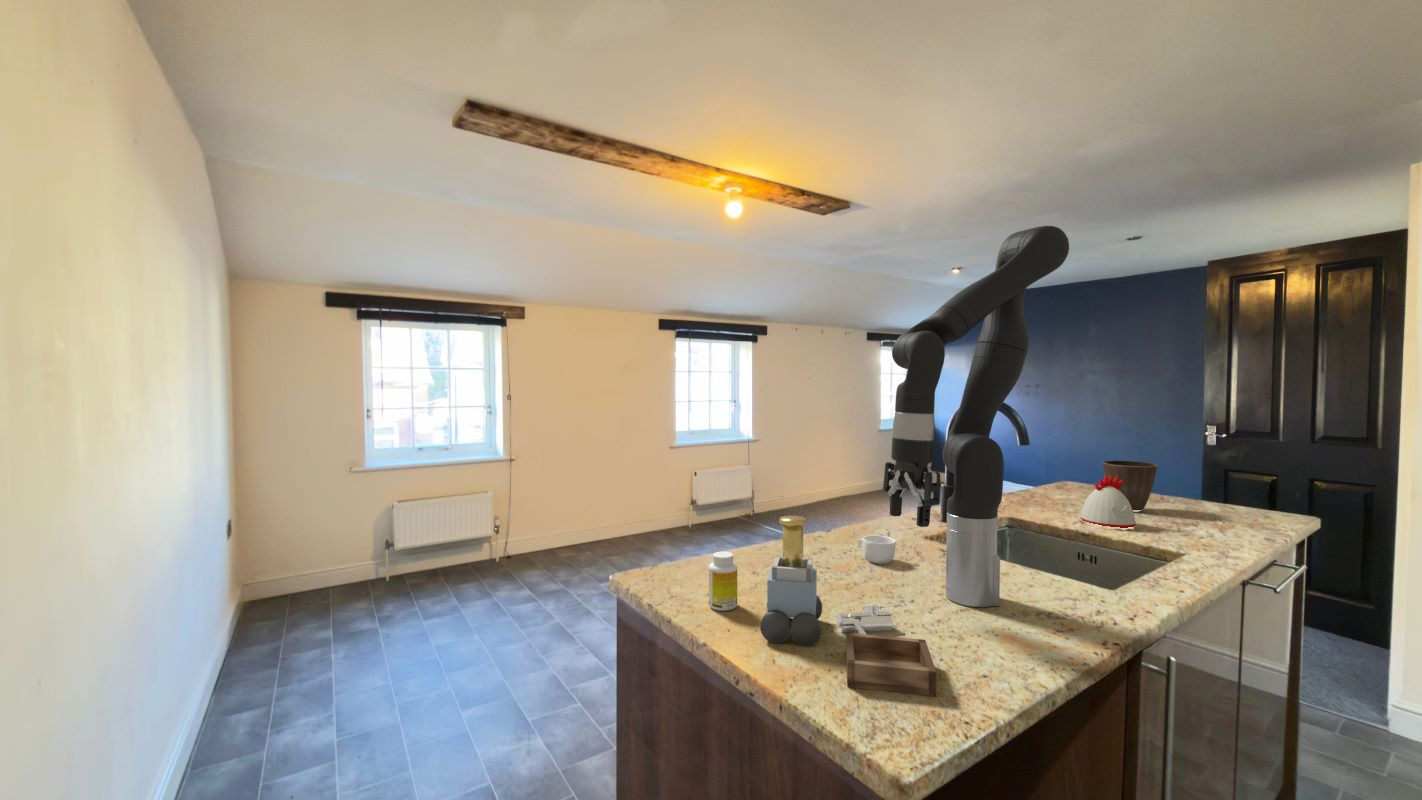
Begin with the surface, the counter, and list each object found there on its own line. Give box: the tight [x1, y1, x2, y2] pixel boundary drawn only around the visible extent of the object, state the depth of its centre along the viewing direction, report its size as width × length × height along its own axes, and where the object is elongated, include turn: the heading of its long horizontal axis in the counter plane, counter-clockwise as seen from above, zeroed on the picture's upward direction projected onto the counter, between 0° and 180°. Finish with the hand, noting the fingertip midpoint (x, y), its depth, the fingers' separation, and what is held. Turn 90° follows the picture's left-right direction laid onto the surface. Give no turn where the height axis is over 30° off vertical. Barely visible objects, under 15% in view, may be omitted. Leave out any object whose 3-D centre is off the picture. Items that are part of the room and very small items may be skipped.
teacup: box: [857, 534, 897, 565], centre depth 139 cm, size 10×8×5 cm
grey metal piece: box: [836, 604, 894, 635], centre depth 97 cm, size 10×4×9 cm
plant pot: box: [1102, 460, 1158, 510], centre depth 193 cm, size 15×15×16 cm
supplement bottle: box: [708, 551, 738, 612], centre depth 110 cm, size 6×6×10 cm
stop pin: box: [779, 515, 807, 568], centre depth 99 cm, size 5×5×10 cm
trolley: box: [759, 555, 823, 647], centre depth 100 cm, size 10×11×12 cm
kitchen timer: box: [1079, 475, 1137, 528], centre depth 174 cm, size 14×14×15 cm
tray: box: [845, 632, 937, 697], centre depth 85 cm, size 12×10×4 cm
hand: (908, 520), depth 109 cm, fingers open, 8 cm apart
